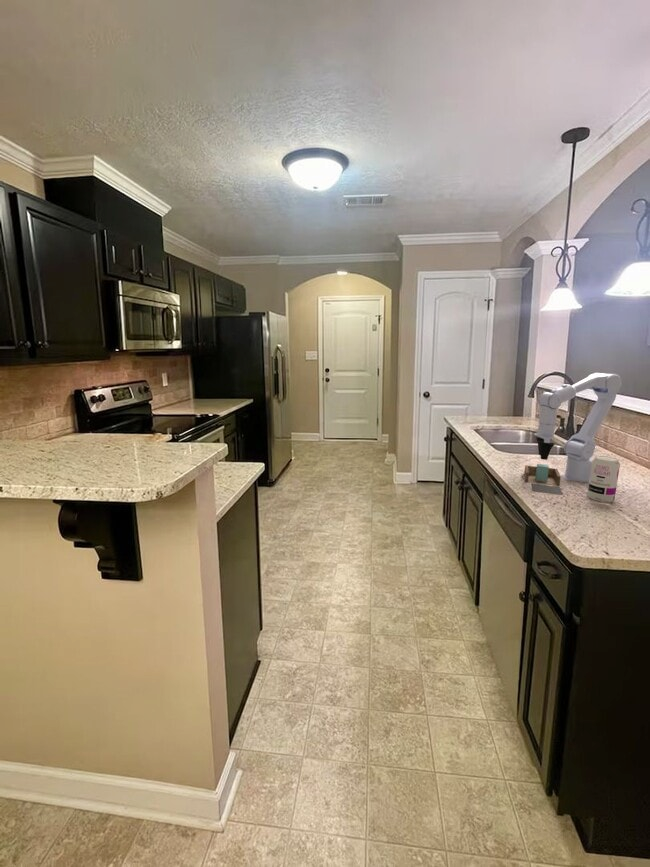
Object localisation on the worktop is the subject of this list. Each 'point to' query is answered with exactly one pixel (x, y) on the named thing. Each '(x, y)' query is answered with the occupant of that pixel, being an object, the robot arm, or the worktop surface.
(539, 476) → the block
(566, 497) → the worktop surface
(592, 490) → the supplement can
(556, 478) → the walnut box
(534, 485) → the slate mat
